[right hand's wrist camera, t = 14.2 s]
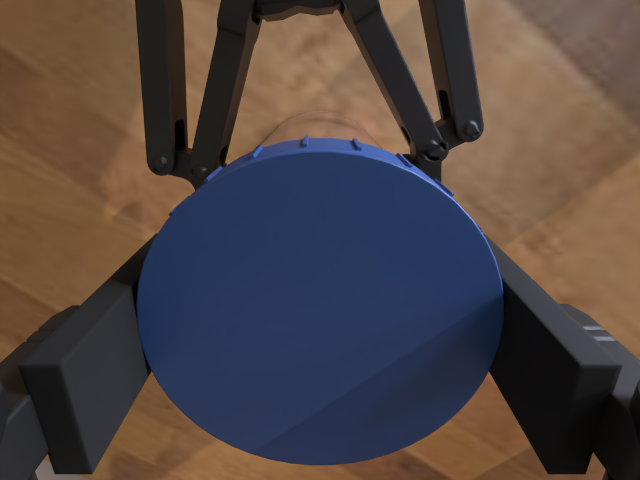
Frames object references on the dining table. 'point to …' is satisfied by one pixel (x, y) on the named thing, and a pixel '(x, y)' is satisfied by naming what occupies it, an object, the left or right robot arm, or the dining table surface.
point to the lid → (320, 303)
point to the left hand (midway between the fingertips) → (329, 282)
